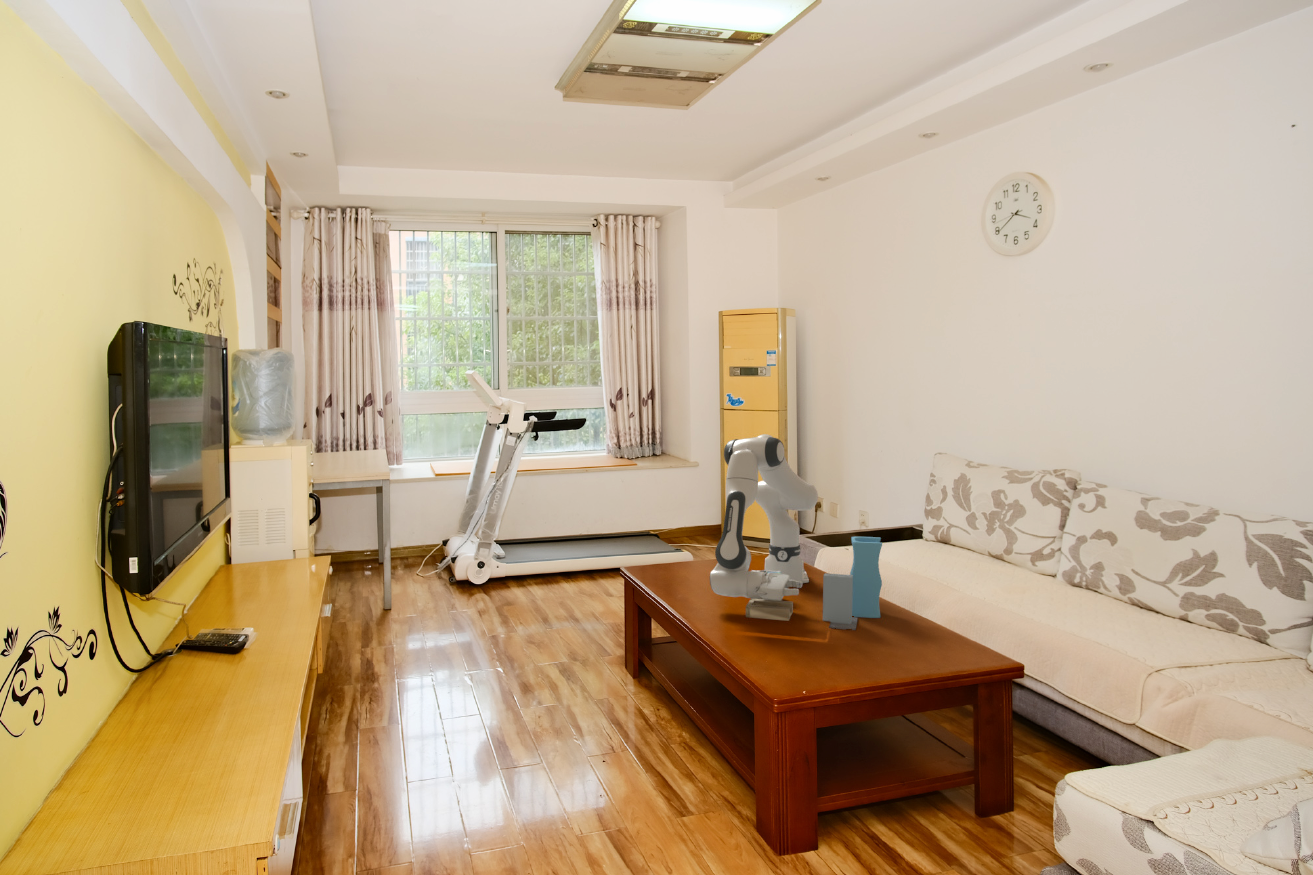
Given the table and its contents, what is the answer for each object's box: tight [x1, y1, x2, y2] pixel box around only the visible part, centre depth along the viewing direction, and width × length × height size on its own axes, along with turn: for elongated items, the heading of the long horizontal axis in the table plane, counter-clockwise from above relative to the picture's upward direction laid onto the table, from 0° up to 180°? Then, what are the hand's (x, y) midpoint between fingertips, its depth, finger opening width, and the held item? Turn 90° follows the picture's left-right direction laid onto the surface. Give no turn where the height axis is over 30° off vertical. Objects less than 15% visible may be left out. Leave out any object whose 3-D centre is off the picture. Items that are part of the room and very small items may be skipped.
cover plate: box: [822, 572, 853, 624], centre depth 271 cm, size 4×9×15 cm, turn 74°
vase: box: [849, 536, 883, 619], centre depth 282 cm, size 10×10×25 cm
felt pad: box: [828, 617, 859, 631], centre depth 271 cm, size 12×12×1 cm
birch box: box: [745, 598, 794, 621], centre depth 277 cm, size 10×14×4 cm
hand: (800, 588), depth 274 cm, fingers open, 8 cm apart
